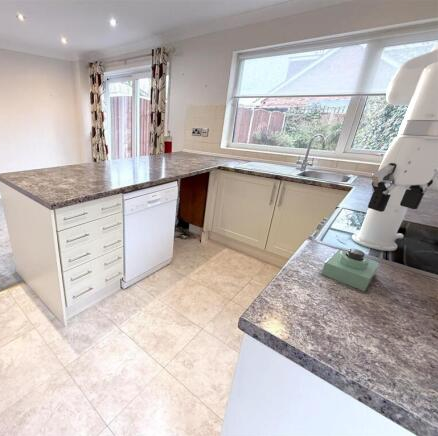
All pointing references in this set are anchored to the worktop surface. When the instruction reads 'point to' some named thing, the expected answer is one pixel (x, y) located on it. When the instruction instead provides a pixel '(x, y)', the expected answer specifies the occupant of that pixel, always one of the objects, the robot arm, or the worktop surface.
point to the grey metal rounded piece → (355, 254)
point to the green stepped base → (350, 270)
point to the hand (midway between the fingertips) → (391, 208)
